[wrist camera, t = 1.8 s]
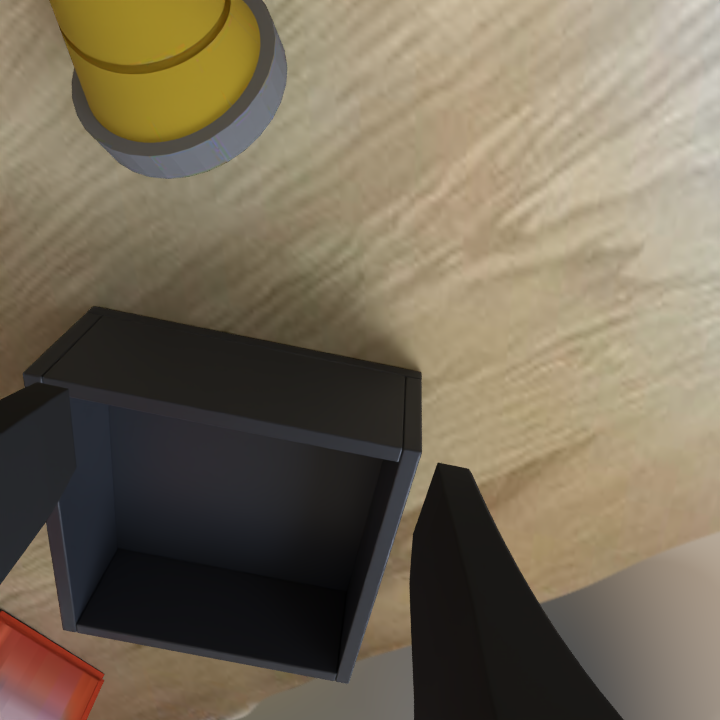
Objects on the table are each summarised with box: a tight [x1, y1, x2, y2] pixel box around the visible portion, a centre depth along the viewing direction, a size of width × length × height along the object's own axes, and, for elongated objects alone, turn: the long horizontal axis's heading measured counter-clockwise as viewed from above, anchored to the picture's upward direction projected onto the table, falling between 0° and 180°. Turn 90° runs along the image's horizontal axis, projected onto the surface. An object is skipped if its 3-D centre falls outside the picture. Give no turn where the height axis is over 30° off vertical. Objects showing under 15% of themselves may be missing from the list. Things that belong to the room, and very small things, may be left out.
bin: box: [23, 306, 422, 683], centre depth 23 cm, size 12×13×4 cm
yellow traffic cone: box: [49, 0, 287, 179], centre depth 13 cm, size 5×5×10 cm
